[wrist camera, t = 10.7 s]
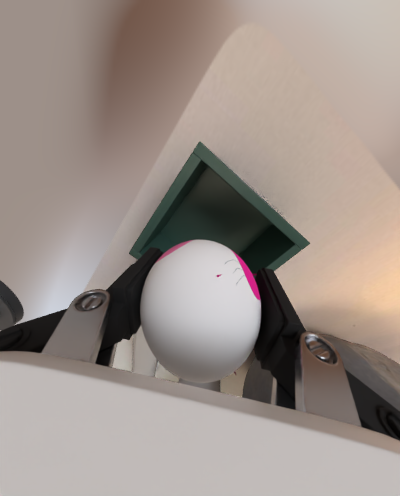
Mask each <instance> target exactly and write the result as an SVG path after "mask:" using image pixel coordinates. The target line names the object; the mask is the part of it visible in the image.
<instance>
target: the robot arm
mask: <svg viewBox="0 0 400 496" xmlns="http://www.w3.org/2000/svg"><path fill="white" fill-rule="evenodd" d="M162 255H163V252H162V251H160V248H154V247H150V248H149V249H148V250H147V251H146V252H145V253H144V254H143V255H142V256H141V257H140V258H139V259H138V260H137V261H136V262H135V263H134V264H132V265H131V266H130V267H129V268H128V269H127V270H126V271H125V272H124V273H123V274H122V275H121V276H120V277H119V278H118V279H117V280H116V281H115V282H114V283H113V284H112V285H111V286H110V287H109V288H108V289H107V290H102V289H95V290H90V291H87V292H84V293H82V294H80V295H79V296H78V297H76V298H75V299H74V300H73V301H72V303H71V304H70V306H69V307H68V309H65V310H61V311H59V312H55V313H52V314H49V315H46V316H43V317H40V318H36V319H33V320H30V321H27V322H24V323H20V324H17V325H14V326H11V327H9V328H6V329H4V330H2V331H0V496H400V411H399V410H398V409H396V408H395V407H394V406H392V405H391V404H390V403H389V402H387V401H386V400H385V399H383V398H382V397H381V396H380V395H378V394H377V393H376V392H374V391H373V390H372V389H370V388H369V387H368V386H367V385H365V384H364V383H363V382H361V381H360V380H359V379H358V378H356V377H355V376H354V375H352V374H351V373H350V372H348V371H347V370H346V369H345V368H344V365H343V361H342V358H341V356H340V354H339V352H338V351H337V350H336V348H335V347H334V346H333V345H332V344H331V343H330V342H329V341H327V340H326V339H325V338H323V337H321V336H320V335H318V334H315V333H313V332H306V330H305V328H304V327H303V325H302V323H301V321H300V319H299V317H298V315H297V314H296V312H295V310H294V308H293V306H292V304H291V303H290V301H289V299H288V297H287V295H286V293H285V291H284V290H283V288H282V286H281V284H280V282H279V280H278V279H277V277H276V275H275V273H274V271H273V270H272V269H268V268H262V269H259V270H258V272H257V274H256V277H255V282H256V284H257V287H258V291H259V295H260V300H261V325H260V330H259V334H258V338H257V340H256V343H255V346H254V349H255V354H256V359H257V360H258V361H260V364H261V369H264V370H268V371H270V372H271V375H272V376H273V386H272V396H271V404H267V403H263V402H259V401H255V400H250V399H246V398H242V397H238V396H234V395H229V394H225V393H221V392H216V391H212V390H208V389H203V388H199V387H195V386H190V385H186V384H182V383H177V382H173V381H169V380H164V379H160V378H156V377H151V376H147V375H142V374H138V373H133V372H129V371H124V370H120V369H116V368H112V366H113V361H114V356H115V352H116V347H117V343H118V342H120V341H121V340H122V339H127V340H130V338H131V336H132V334H136V333H137V331H138V329H139V328H140V326H141V316H140V303H141V295H142V290H143V287H144V283H145V281H146V278H147V276H148V274H149V272H150V270H151V268H152V267H153V265H154V264H155V263H156V261H157V260H158V259H159V258H160V257H161V256H162Z"/></svg>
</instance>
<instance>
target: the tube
mask: <svg viewBox="0 0 400 496" xmlns="http://www.w3.org/2000/svg"><path fill="white" fill-rule="evenodd" d="M156 365H157V359H156V358H155V356H154V355H153V353H152V352H151V350H150V348H149V346H148V344H147V342H146V339H145V336H144V333H143V329H142V325H141V326H140V328H139V329H138V331H137V333H136V334H133V357H132V372H133V373H138V374H142V375H147V376H151V377H154V376H155V371H156Z"/></svg>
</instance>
